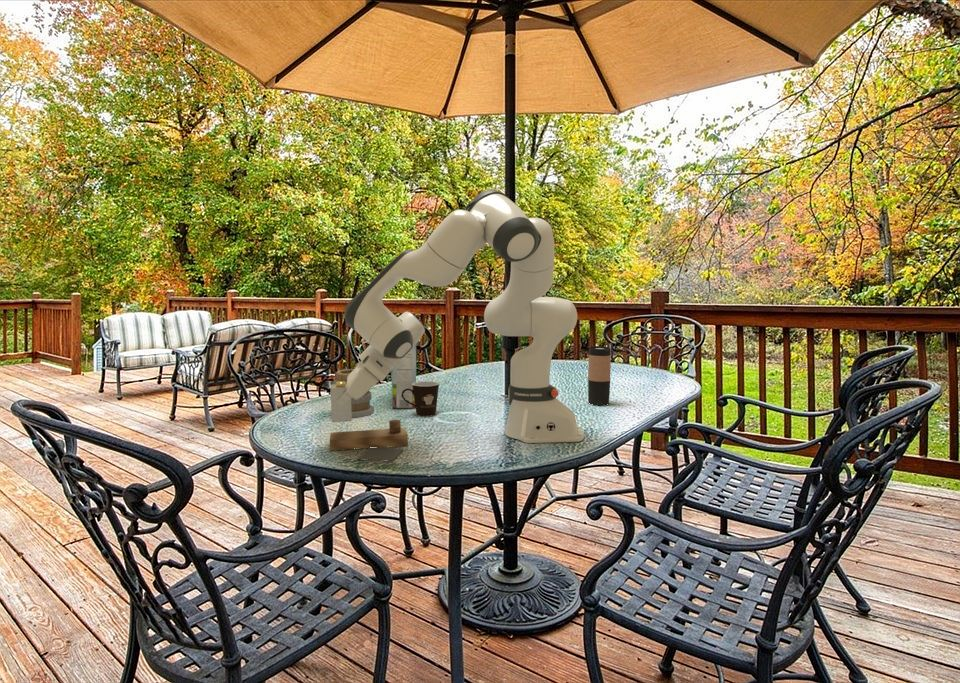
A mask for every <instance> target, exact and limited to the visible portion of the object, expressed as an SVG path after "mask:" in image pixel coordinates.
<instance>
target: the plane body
mask: <svg viewBox="0 0 960 683" xmlns="http://www.w3.org/2000/svg"><path fill="white" fill-rule="evenodd" d="M401 422H402V421H401V420H400V419H391V420H389V428H380V429H367V430H349V431H347V430H346V431H334V432H330V434H329V435H330V436H329V451H330V450H339V451H343V450H342V449H353V450H357V449H356V448H368V449H369V448H370V447H382V448H388V447H387V446H396V447H406V445H409V442H408V438H409V437H408V432H407V430H406V427H402V426H401ZM354 448H355V449H354Z"/></svg>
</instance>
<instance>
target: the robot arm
mask: <svg viewBox="0 0 960 683" xmlns="http://www.w3.org/2000/svg"><path fill="white" fill-rule="evenodd" d="M553 233H554V232H553V229H552V226H551V225H550V223H549V222H548V221H546V220H544V219H543V218H539V217H528V216H527V215H526V214H525V212H524V211H523V210H522V209H521V207H520V206H518V205H517V204H516V203H515V202H514V201H512V200H511V199H510V197H509V196H508V195H506V194H505V193H503V192H502V191H499V190H496V189H493V188H491V189H486V190H484V191H482V192H480V193H479V194H477V195H476V196H475V197H474V198H473V199H472V200H471V202H469V203H468V204H466V207H465V209H455V210H453V211H452V212H451V213H449V214H448V215H447V216H446V217H445V218H444V219H443V220H442V221H441V222H440V223H439V225H437V227H436V228H435V229H434V230H433V231H432V233H431V234H430V235H429V237H428V238H427V240H426V241H425V242H424V243H423V244H422V245H421V246H420V247H418V248H416V249H414V250H413V249H406V250H404V251H402V252H401V253H399V254H398V255H396V256H395V258H394V259H393V260H391V262H390V263H388V264H387V265H386V266H385V267H384V268H383V269H382V270H381V271H380V272H379V273H378V274H377V275H376V276H375V277H374V279H372V280H371V282H370V283H369V284H367V286H366V287H365V288H364V289H362V290H361V291H360V292H359V293H357V294H356V295H355V296H354V297H352V298H351V299H350V300H349V301H348V303H347V304H346V306H345V307H344V321H345V322H344V323H345V324H346V326H348V327H349V328H351V329H352V330H353V331H354V332H356V333H357V334H358V335H359V336H361V337H362V339H364V341H365V342H366V343H368V344H369V345H368V346H367V347H366V348H365V349H364V350H363V352H362V353H361V354H359V356H358V357H359V359H360V361H359V362H358V363H359V364H358V366H357V367H356V366H355V367H356V368H355V367H354V368H353V369H354V370H353V371H352V372H351V373H350V374H349V375H348V377H347V391H346V392H345V393H344V394H343V395H342V396H341V397H340V398H339V399H338V400H337V404H338V405H339V406H343V405H344V404H345V403H346V402H347V401H348V400H350V399H351V398H352V397H353V398H354V399H355V400H358V399H359V398H361V397H362V396H363V395H364V394H366V393H367V392H368V391H369V392H370V390H371V389H372V388H373V387H374V386H375V385H377V383H378V382H383V380H385V379H386V377H387V376H388V375H389V373H392V369H393V368H394V367H395V366H396V365H397V363H398V361H399V360H400V359H401V358H403V357H404V356H405V355H407V354H408V353H409V352H410V351H411V349H412V348H413V347H414V346H415V345H416V346H417V343H418V342H419V341H420V340H421V339H422V337H423V335H424V334H425V332H426V329H425V327H424V324H423V323H422V322H421V320H419V318H418V317H417V316H416V315H414V314H413V313H411V312H410V311H404V312H403V313H402V314H400V315H399V316H396V315H395V314H394V313H393V312H392V311H391V310H389V309H388V307H387V306H386V305H384V303H383V298H384V297H385V296H386V295H387V294H388V293H389V292H390V291H391V290H392V289H393V288H395V286H396V285H397V284H398V283H399V282H400V281H402V280H403V279H404V278H405V279H409V280H412V281H415V282H417V283H420V284H422V285H425V286H429V287H437V288H441V287H442V288H443V287H446V286H449V285H452V284H453V282H455V281H456V280H458V278H459V277H460V276H461V274H462V273H463V272H464V271H465V269H467V266H468V265H469V263H470V262H471V260H472V259H473V258H474V256H475V254H476V253H477V252H478V251H479V250H480V249H482V248H484V247H486V246H487V245H489V246H490V247H491V248H492V249H493V251H494V253H496V254H497V255H498V256H499V257H500V258H501V259H503V260H505V261H507V262H510V275H509V282H508V284H507V286H506V287H505V289H504V290H503V292H501V293H500V294H499V295H497V297H495V298H492V299H490V301H489V302H488V304H487V305H486V307H485V309H484V314H483V320H484V324H485V326H486V328H487V330H488V331H489V332H490V333H491V334H495V335H498V336H499V335H500V336H505V337H532V338H533V339H532V342H531V344H529V345H528V346H525V347H524V348H522V349H519V350H517V351H516V352H515V353H514V354H513V355H512V356H511V358H510V370H509V371H510V376H509V377H510V384H509V385H508V390H507V391H508V398H507V399H508V400H507V401H508V405H509V408H508V409H509V410H508V415H507V422H506V425H505V428H504V429H505V430H504V435H505V436H507V437H509V438H511V439H515V440H518V441H521V442H523V443H525V444H534V443H535V444H536V443H537V444H539V443H542V444H543V443H577V442H580V441H583V440H584V439H585V431H584V429H583V428H582V427H581V426H578V424H577V420H576V416H575V414H574V411H573V410H572V409H571V408H569V407H568V406H566V405H565V404H564V403H563V402H562V401H560V399H558V396H559V390H558V388H556V386H553V385H552V384H550V383H551V382H550V379H551V378H550V374H551V366H552V357H553V355H554V352H555V350H556V348H557V347H558V345H559V344H560V342H561V341H562V340H563V339H564V338H565V337H567V336H568V335H570V333H572V332H573V330H574V329H575V327H576V325H577V322H578V312H577V307H576V306H575V305H574V303H573V302H572V301H571V300H570V299H565V298H562V297H555V296H544V295H546V294H547V292H548V291H549V290H550V289H551V287H552V285H553V283H554V270H555V269H554V267H555V256H556V255H555V238H554V234H553Z"/></svg>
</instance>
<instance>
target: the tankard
mask: <svg viewBox="0 0 960 683" xmlns="http://www.w3.org/2000/svg"><path fill="white" fill-rule="evenodd" d="M359 363H360V362H357V363H356V364H355V367H354V368H348V369H339V370H337V371H336V372H335V373H334V374H335V379H334V380H333V381H332V383H333V384H336V382H339V381H344V382H345V384H347V377H348V375H349V374H350V373H351V372H352V371H353V370H354V369H355V368H356V367H357V366H358V364H359ZM371 400H372V392H371V391H370V390H369V391H368V392H367V393H366V394H364V395H363V396H362V397H361V398H359V399H358V400H355V399H354V398H353V397H352V398H351V412H352V419H355V418H358V419H359V418H362V417H367V416H371V415H372V413H373V412H375V406H374V405H371V403H370V402H371Z"/></svg>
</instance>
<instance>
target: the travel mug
mask: <svg viewBox="0 0 960 683" xmlns="http://www.w3.org/2000/svg"><path fill="white" fill-rule="evenodd" d="M611 349H612V348H611V347H609V346H603V345H602V346H600V345H599V346H597V345H596V346H589V347H588V370H587V372H588V373H587V375H588V376H587V394H588V395H587V398H588V401H587V402H588V404H589V403H590V404H593V405H592V406H594V405H607V404H609V405H610V393H611V392H610V391H611V366H612V365H611V364H612V363H611V360H612V359H611V358H612V357H611V356H612V354H611V353H612V350H611ZM590 404H589V405H590ZM607 406H608V405H607Z"/></svg>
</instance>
